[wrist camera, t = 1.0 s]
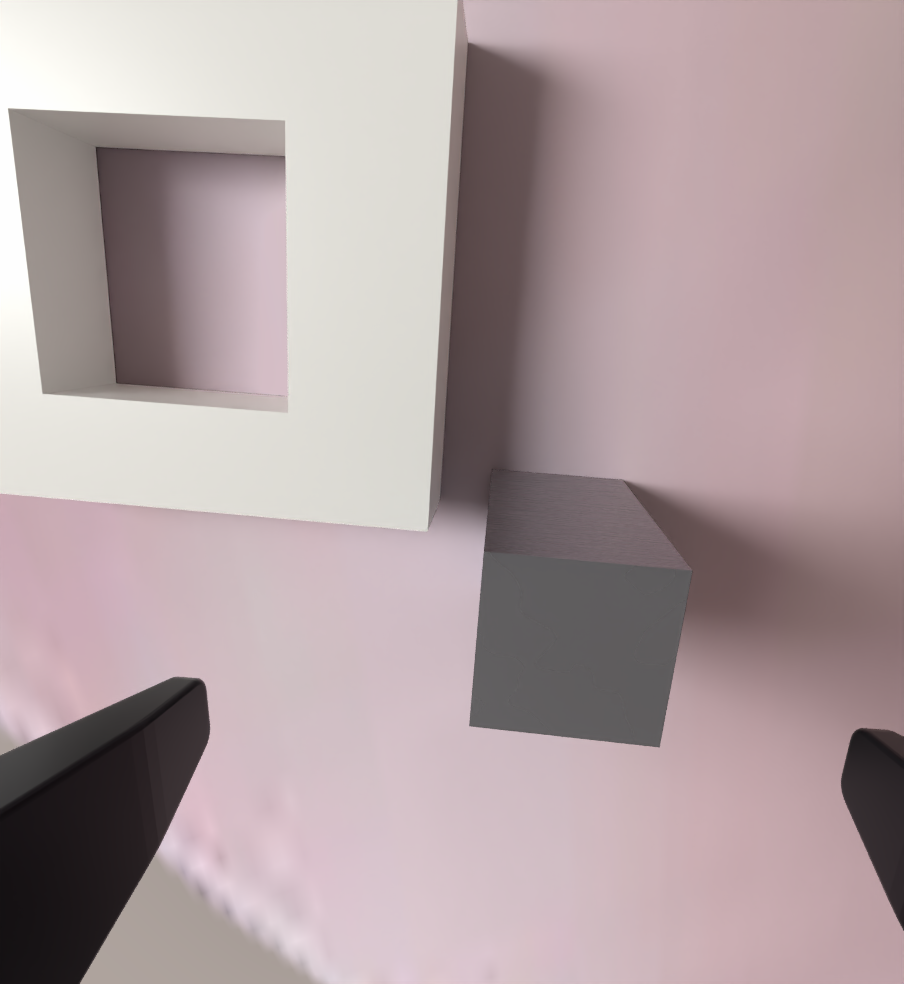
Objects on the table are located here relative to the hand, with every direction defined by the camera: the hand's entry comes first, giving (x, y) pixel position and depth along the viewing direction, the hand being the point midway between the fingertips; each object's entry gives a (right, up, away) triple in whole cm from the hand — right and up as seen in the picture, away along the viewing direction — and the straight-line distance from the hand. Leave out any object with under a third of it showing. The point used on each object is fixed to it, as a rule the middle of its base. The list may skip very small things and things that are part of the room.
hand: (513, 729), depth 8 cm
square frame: (-9, +10, +12) cm, 18 cm away
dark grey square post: (+3, +2, +13) cm, 13 cm away
